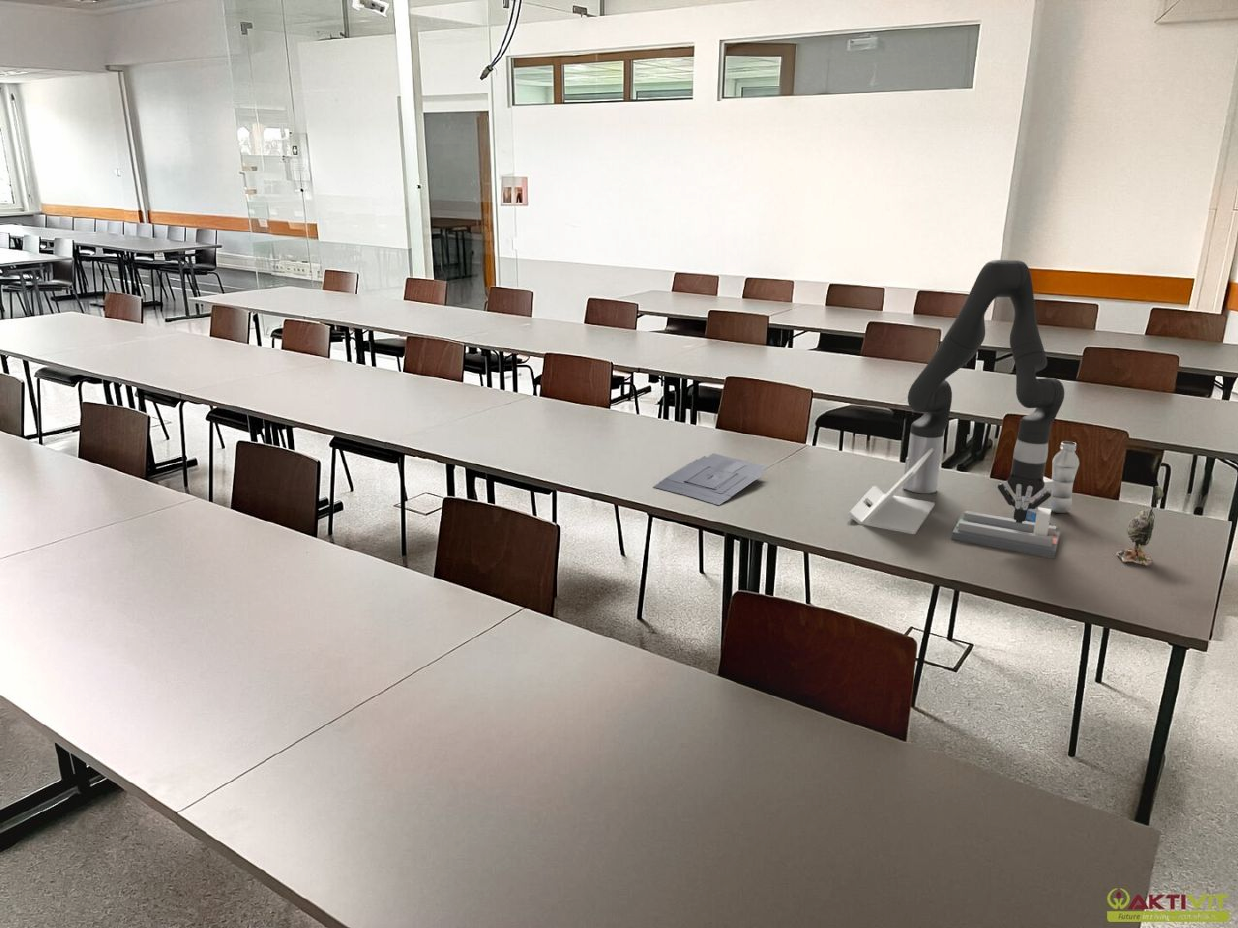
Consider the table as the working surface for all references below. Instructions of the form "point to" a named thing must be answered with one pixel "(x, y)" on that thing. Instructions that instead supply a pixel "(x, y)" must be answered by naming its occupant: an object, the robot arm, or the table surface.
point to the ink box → (1032, 512)
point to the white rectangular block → (1042, 521)
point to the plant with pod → (1141, 533)
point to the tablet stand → (893, 507)
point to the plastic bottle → (1064, 477)
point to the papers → (712, 478)
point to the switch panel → (1004, 542)
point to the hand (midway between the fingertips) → (1019, 521)
